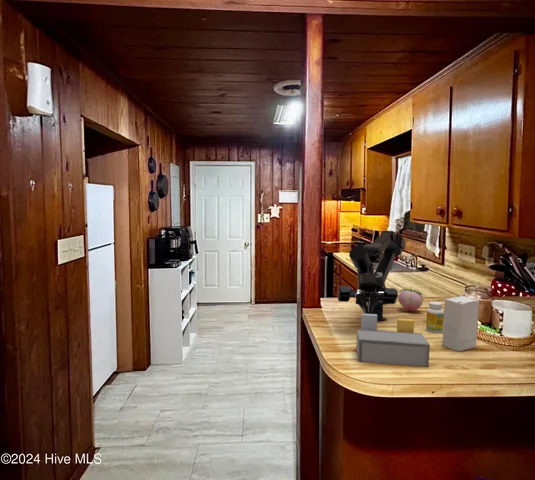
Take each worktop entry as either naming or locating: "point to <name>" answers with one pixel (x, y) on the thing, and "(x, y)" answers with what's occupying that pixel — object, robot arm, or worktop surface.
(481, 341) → the worktop surface
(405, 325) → the mustard button
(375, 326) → the light gray button
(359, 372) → the worktop surface
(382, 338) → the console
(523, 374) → the worktop surface
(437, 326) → the supplement bottle
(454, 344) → the skincare box
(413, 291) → the decorative fruit
